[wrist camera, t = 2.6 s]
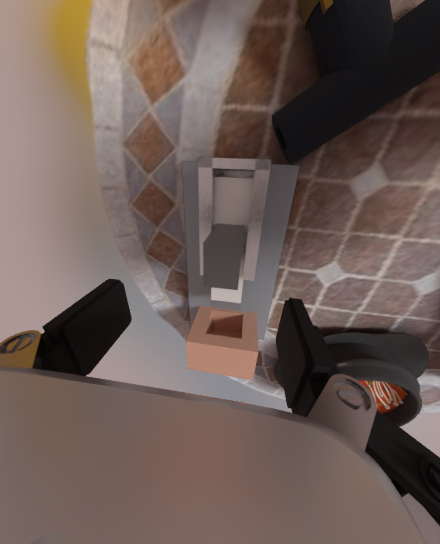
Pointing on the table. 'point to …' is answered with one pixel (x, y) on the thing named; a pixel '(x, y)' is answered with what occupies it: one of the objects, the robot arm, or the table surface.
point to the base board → (270, 245)
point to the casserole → (381, 369)
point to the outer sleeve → (260, 173)
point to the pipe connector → (357, 67)
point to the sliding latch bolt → (227, 241)
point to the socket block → (223, 342)
